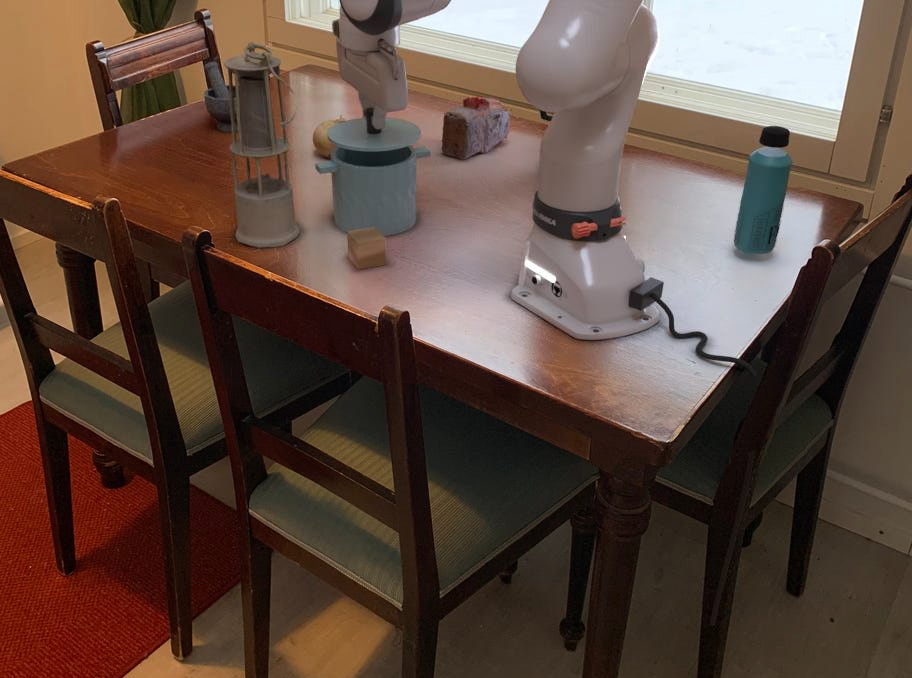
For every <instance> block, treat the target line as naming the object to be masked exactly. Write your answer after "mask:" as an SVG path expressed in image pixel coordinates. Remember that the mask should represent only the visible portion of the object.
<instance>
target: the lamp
mask: <svg viewBox="0 0 912 678" xmlns="http://www.w3.org/2000/svg"><path fill="white" fill-rule="evenodd" d="M256 49H259V50H263V51H264V52H262V53H259V52H255V50H256ZM243 51H244V53H243V54H240V55H237V56H233V57H230V58H228V59H226V60H225V61H223V65H224V67H225V68H226V69H227V75H228V76H227V77H228V85H229V91H230V111H231V123H232V131H231V138H232V143H231V144H230V145H229V151H230V153H231V161H232V163H231V164H232V174H233V176H232V177H233V183H234V190H233V193H234V203H235V213H236V223H237V225H236V226H237V228H236V231H235V234H234V235H235V239H236V240H237V241H238V242H239V243H241V244H245V245H248V246H250V247H255V248H259V249H260V248H261V249H263V248H278V247H283V246H285V245H287V244H288V243H290V242H292V241H293V240H294V239H296V238H298V236H299V235H300V233H301V230H300V227H299V226H298V224H297V223H296V214H295V213H296V212H295V203H294V192H293V191H294V190H293V185H292V184H291V183H290V173H289V172H290V171H289V164H288V157H287V152H288V151H289V149H290V147H291V143H290V142H289V138H288V133H287V130H286V129H287V125H288V124H290V122H292V121H293V120H294V119H295V117H296V114H297V110H298V109H297V108H298V107H296V108H295V111H294V113H293V115H292V116H291V117H290V118H288V119H287V118H286V113H285V112H286V111H285V103H284V101H283V95H282V88H281V87H282V85H281V83H282V84H284V85H286V87H287V88H288V89H289V90H290V92H291V93H292V95H295V92H294V89H292V87H290V85H288V83H287V82H286V81H285V80H284V79H283V78H282V77H281V76H280V74H281V69H280V66H281V64H282V61H281V58H279V57H277V56H274V55H272V49H271V48H269V47H268V46H265V45H263V44H259V43H254V41H253V42H252V41H250V42H248V43H247V45H246V46H245V47H244V49H243ZM233 75H234V76H233ZM270 75H272V76H273V77H274V78H275V79H276V82H277V89H278V97H279V98H278V99H279V108H280V117H281V122H280V123H278V126H282V135H283V138H282V137H279V136H276V127H275V122H274V120H275V119H274V113H273V104H272V95H271V84H270V83H271V76H270ZM233 79H234V83H235V84H234V83H233ZM233 85H235V87H236V107H237V125H238V131H236V128H235V114H234V97H233ZM239 97H240V104H239ZM240 109H241V119H240ZM241 124H242V130H241ZM237 133H238V139H237ZM282 154H283V161H284V167H283V168H284V177H285V179H283V172H282V170H283V169H282V162H281V155H282ZM236 156H238V157H242V158H245V166H246V176H247V178H246V180H243V181H240V182H239V183H238V181H239V180H238V172H237V160H236ZM272 157H276V160H277V170H278V178H277V177H272V176H271V175H270V173H269V172H268V173H265V174H261V167H260V161H261V160H262V159H265V158H266V159H267V158H268V159H269V158H272ZM250 158H251V159H252V160H255V167H256V176H257V177H255V178H251V164H250Z"/></svg>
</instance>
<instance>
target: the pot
mask: <svg viewBox="0 0 912 678" xmlns="http://www.w3.org/2000/svg"><path fill="white" fill-rule="evenodd" d="M431 151H432V150H431V149H429V148H428V147H427V146H425V145H423V146H416V147H414V146H413V145H412V144H411V145H409V146H406V147H403V148H399V149H394V150H388V151H374V152H371V151H355V150H349V149H345V148H341V147H338V146H336V147H334V148H333V150H332V152H331V154H330V155H329V157H331V158H330V160H328V161H321V162H315V165H314V166H315V170H316V171H317V172H318V173H319V174H320V175H324V174H329V173H331V190H332V191H331V192H332V208H333V220H334V224H335V225H336V227H338V229H340V230H341V231H344V232H345V233H347V231H352V230H358V229H363V228H369V227H375V228H376V229H377V230H378V231H379V232H380V233H381V234H382V235H383V236H384V237H389V236H394V235H398V234H402V233H403V232H406V231H408V230H410V229H411V228H412V227H414V226H415V224H416V222H417V216H418V190H417V189H418V184H417V183H418V180H417V179H418V173H417V172H418V171H417V170H418V169H417V165H418V163H417V161H418V160H419V159H424V158H430V157H431Z"/></svg>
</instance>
